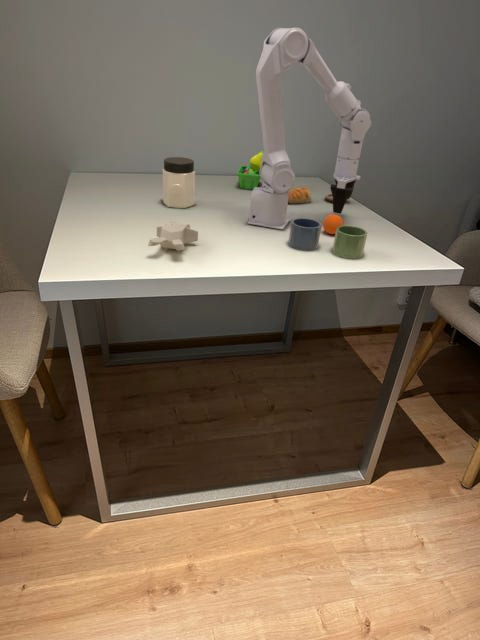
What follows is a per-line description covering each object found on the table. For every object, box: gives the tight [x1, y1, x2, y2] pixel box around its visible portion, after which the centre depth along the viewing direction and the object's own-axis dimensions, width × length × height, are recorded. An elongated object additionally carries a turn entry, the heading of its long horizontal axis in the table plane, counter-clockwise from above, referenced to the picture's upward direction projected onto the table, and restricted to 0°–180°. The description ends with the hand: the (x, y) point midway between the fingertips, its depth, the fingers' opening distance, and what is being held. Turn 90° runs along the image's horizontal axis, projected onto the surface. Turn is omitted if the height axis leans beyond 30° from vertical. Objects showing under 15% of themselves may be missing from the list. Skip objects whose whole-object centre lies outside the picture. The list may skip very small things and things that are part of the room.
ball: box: [322, 213, 344, 235], centre depth 119 cm, size 5×5×5 cm
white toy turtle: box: [147, 221, 199, 252], centre depth 104 cm, size 10×5×15 cm
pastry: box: [288, 187, 312, 205], centre depth 142 cm, size 9×7×4 cm
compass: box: [324, 184, 355, 204], centre depth 144 cm, size 8×8×7 cm
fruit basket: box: [236, 150, 264, 190], centre depth 152 cm, size 11×9×11 cm
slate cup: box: [288, 217, 323, 252], centre depth 111 cm, size 7×7×6 cm
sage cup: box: [332, 224, 368, 260], centre depth 108 cm, size 7×7×6 cm
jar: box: [162, 156, 196, 209], centre depth 129 cm, size 9×8×12 cm
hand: (338, 208), depth 128 cm, fingers open, 7 cm apart
